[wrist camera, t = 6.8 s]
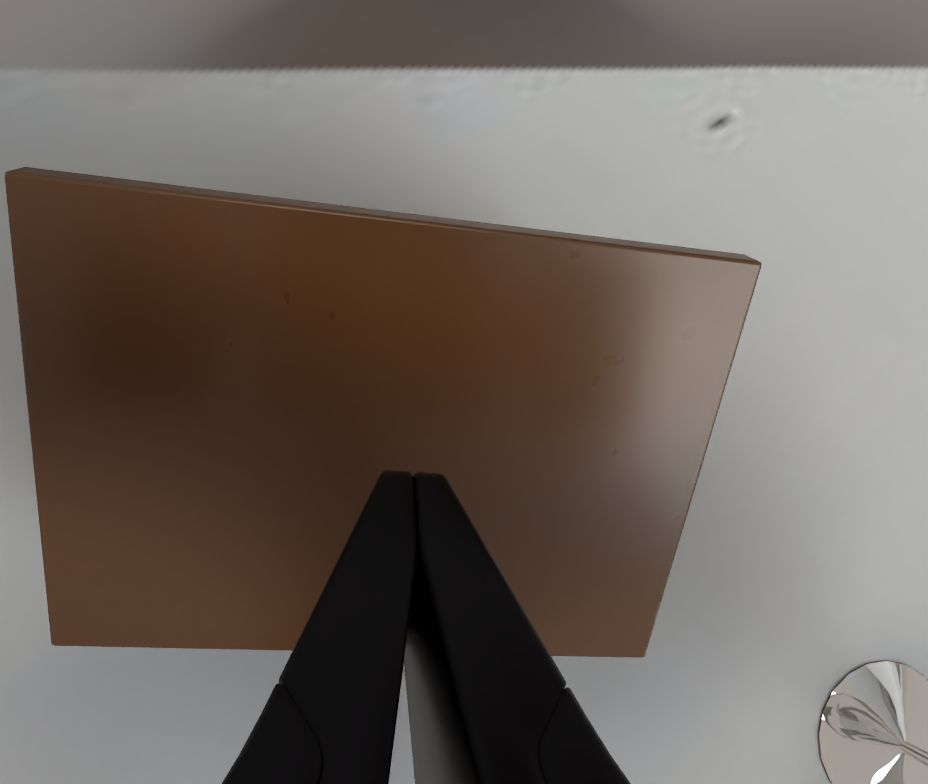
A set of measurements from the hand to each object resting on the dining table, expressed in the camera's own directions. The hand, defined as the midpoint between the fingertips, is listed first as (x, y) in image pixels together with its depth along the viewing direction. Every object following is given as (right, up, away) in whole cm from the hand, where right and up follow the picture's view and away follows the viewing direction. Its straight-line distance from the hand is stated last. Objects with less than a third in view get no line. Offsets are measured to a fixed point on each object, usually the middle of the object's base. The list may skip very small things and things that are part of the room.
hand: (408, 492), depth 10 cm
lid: (-1, 0, +5) cm, 5 cm away
